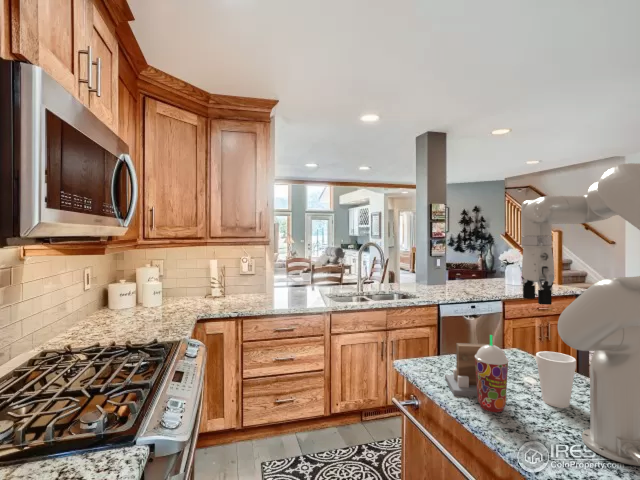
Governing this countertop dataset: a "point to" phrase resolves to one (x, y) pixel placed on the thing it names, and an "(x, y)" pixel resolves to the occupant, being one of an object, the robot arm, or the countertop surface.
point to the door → (467, 361)
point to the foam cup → (556, 377)
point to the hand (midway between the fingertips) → (536, 301)
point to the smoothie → (491, 377)
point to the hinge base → (460, 385)
